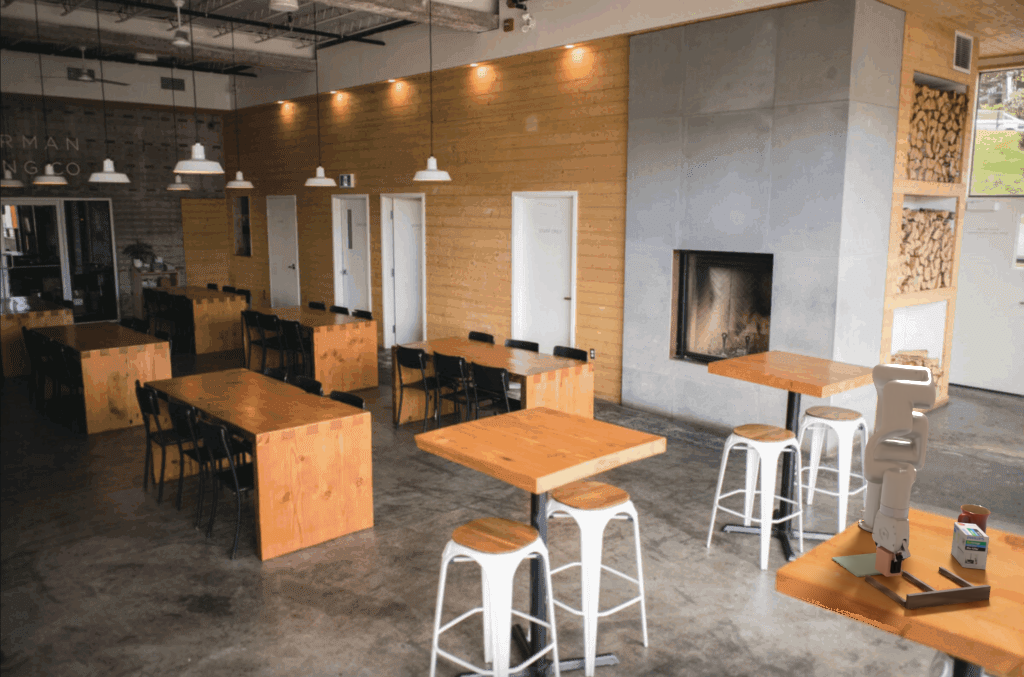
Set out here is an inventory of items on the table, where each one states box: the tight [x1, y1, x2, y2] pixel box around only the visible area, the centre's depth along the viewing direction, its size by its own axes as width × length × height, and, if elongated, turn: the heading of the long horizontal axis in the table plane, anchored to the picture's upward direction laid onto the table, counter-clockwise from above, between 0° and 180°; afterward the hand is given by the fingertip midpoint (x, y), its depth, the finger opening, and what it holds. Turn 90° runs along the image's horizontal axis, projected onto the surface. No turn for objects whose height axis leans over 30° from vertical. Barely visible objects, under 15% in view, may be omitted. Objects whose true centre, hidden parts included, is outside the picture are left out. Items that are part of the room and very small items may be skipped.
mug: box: [956, 504, 992, 535], centre depth 254 cm, size 12×9×10 cm
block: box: [875, 546, 903, 578], centre depth 225 cm, size 5×5×7 cm
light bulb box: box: [950, 521, 990, 570], centre depth 237 cm, size 11×7×11 cm, turn 168°
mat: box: [831, 552, 904, 578], centre depth 234 cm, size 12×16×1 cm
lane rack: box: [864, 566, 992, 611], centre depth 219 cm, size 18×27×4 cm, turn 103°
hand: (888, 567), depth 225 cm, fingers closed on block, 5 cm apart
